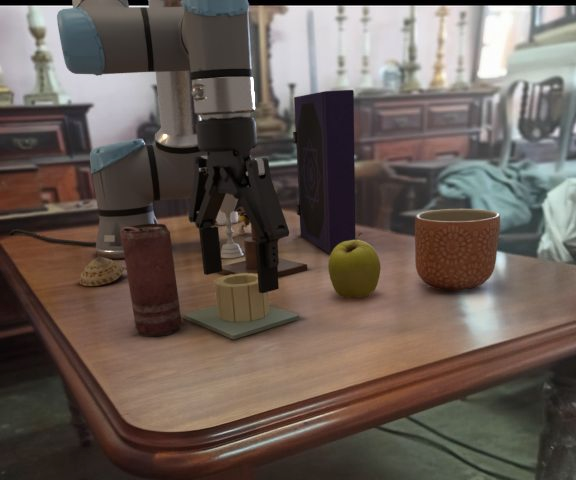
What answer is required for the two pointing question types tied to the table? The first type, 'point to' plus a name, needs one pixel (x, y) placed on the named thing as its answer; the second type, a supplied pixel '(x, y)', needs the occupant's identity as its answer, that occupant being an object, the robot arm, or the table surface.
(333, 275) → the apple
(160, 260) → the can
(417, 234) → the planter
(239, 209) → the figurine
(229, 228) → the chalice
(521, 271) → the table surface
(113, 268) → the seashell
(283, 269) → the stand
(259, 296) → the tape roll
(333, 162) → the book
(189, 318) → the mat
